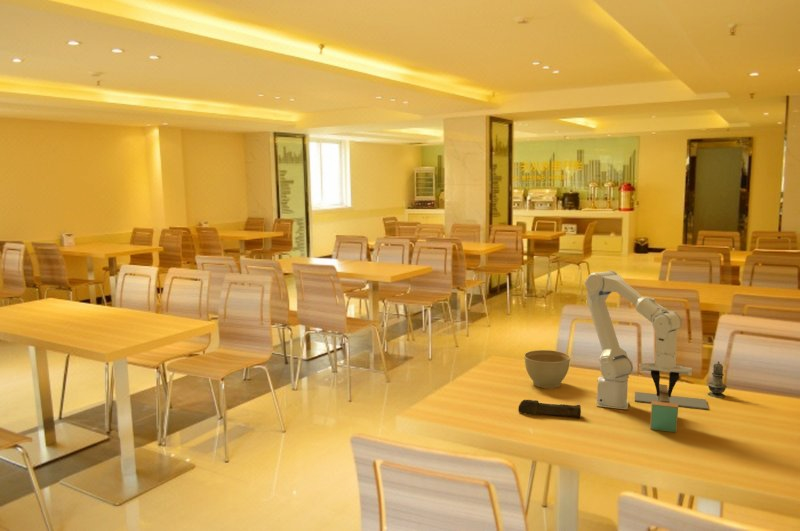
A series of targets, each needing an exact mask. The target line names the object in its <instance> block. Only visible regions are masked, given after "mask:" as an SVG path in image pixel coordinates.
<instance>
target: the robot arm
mask: <svg viewBox="0 0 800 531" xmlns="http://www.w3.org/2000/svg"><path fill="white" fill-rule="evenodd" d="M584 285H585V288H586V301H587V302H586V303H587V306H588V308H589V312H590V314H591V318H592V322H593V325H594V328H595V331H596V334H597V337H598V340H599V344H600V347H601V351H602V352H601V354H600V356H599V358H598V359H599V364H600V365H599V372H600V374H601V376H598V377H597V393H596V394H595V395H596V397H595V398H596V406H597V407H601V408H609V409H610V408H611V409H618V410H628V409H629V400H628V382H629V380H628V379H629V378H630V375H631V373H632V372H633V370H634V365H633V362H632V360H631V359H630V357H629V356H628V353H627V351H625V350H624V349H623V348H621V347H620V344H619V341H618V338H617V334H616V331H615V329H614V325H613V321H612V319H611V316H610V313H609V309H608V306H607V304H606V300H607V299H608V297H609V296H610V295H611V294H612V293H617V294H618V295H620V296H621V297H622V298H624V299H626V300H627V301H629V303H632V304H633V305H634V306H635V309H636V312H638V313H639V315H642V317H644V318H645V319H647V321H649V322H650V323H651V324H652V327H653V329H654V332H655V352H654V353H655V355H654V363H652V362H649V363H642V362H641V363H638V364H639V365H638V371H639V372H643V371H644V372H650V376H651V378H652V380H653V383H654V386H655V390H656V394H657V396H659V393H660V392H659V384H660V381H661V380H660V378H661V373H667V374H669V375H668V376H669V378H668V394H669V397H671V396H672V392H673V390H674V387H675V385H676V383H677V382H678V380H679V378H680V375H686V376H692V372H693V369H692V367H687V366H680V365H676V364H677V361H676V360H677V359H676V358H677V346H678V345H677V340H678V330H679V329H680V328H681V326H682V318H681V316H680V315H679V314H678V313H677V312H676V311H675V310H673V311H672V310H670V311H669V310H668V308H667V307H664V306H662V305H661V304H660V303H658V302H657V301H656V299H655V298H654V297H649V296H642V294H640V293H639V292H638V291H637V290H636V289H635V288H633V287H632V286H631V285H630V284H628V283H627V281H625V280H624V279H623V277H622V275H621V274H618V273H617V272H616V271H614V270H607V271H601V272H600V271H599V272H592V273H590V274H589V275H587V278H586V280H585V281H584Z"/></svg>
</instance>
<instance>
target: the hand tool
mask: <svg viewBox="0 0 800 531" xmlns="http://www.w3.org/2000/svg"><path fill="white" fill-rule="evenodd" d="M517 409H518V413H520V414H523V415H524V414H525V415H529V414H530V415H531V416H537V415H549V416H562V417H571V418H572V417H575V418H577V419H581V415H582V414H581V413H582V408H581V405H580V404H576V405H572V404H571V405H570V404H560V403H559V404H555V403H544V402H543V403H542V402H540V401H539V400H537V399H536V400H534V399H523V400H521V402H520V404H519V405H518V408H517Z"/></svg>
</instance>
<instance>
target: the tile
mask: <svg viewBox="0 0 800 531" xmlns="http://www.w3.org/2000/svg"><path fill="white" fill-rule="evenodd" d="M650 405H651V406H650V407H651V408H650V409H651V410H650V426H649V428H650V430H654V431H662V432H671V433H677V429H678V414H679V407H678V404H674V403H665V402H656V401H652V403H651V404H650Z"/></svg>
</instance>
